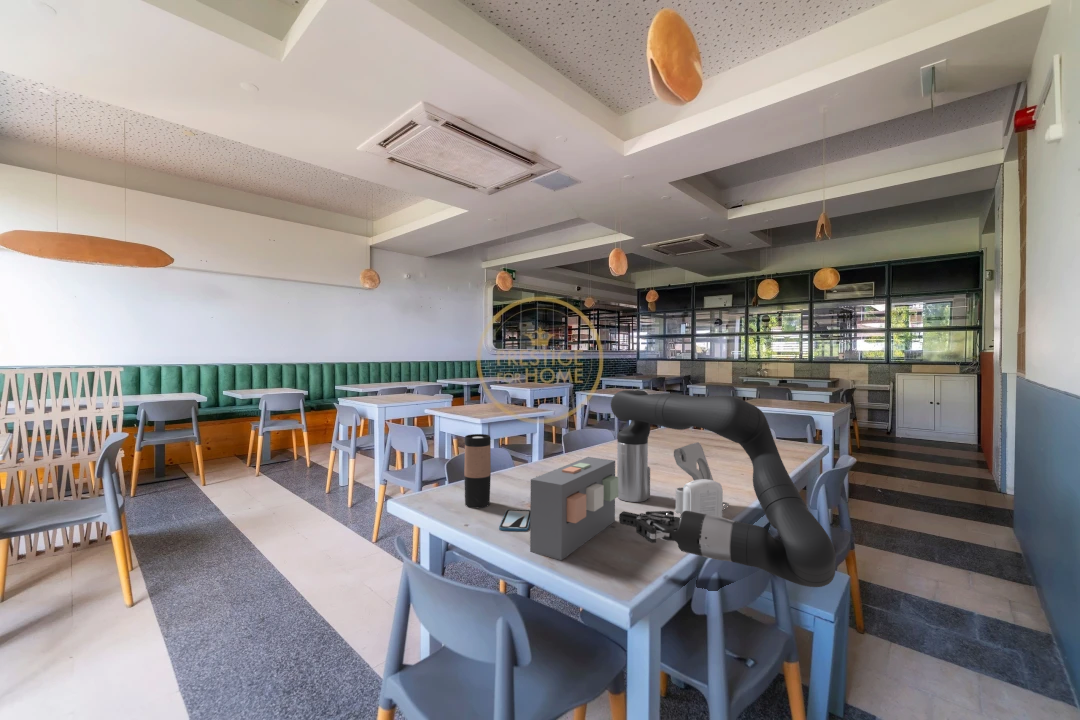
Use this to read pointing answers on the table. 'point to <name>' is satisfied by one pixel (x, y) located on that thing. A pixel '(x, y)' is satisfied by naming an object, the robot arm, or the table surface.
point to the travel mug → (477, 470)
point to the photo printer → (703, 497)
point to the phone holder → (691, 468)
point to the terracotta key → (576, 507)
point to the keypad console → (551, 507)
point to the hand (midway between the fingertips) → (620, 517)
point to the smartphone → (515, 520)
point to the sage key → (610, 487)
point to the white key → (594, 496)
